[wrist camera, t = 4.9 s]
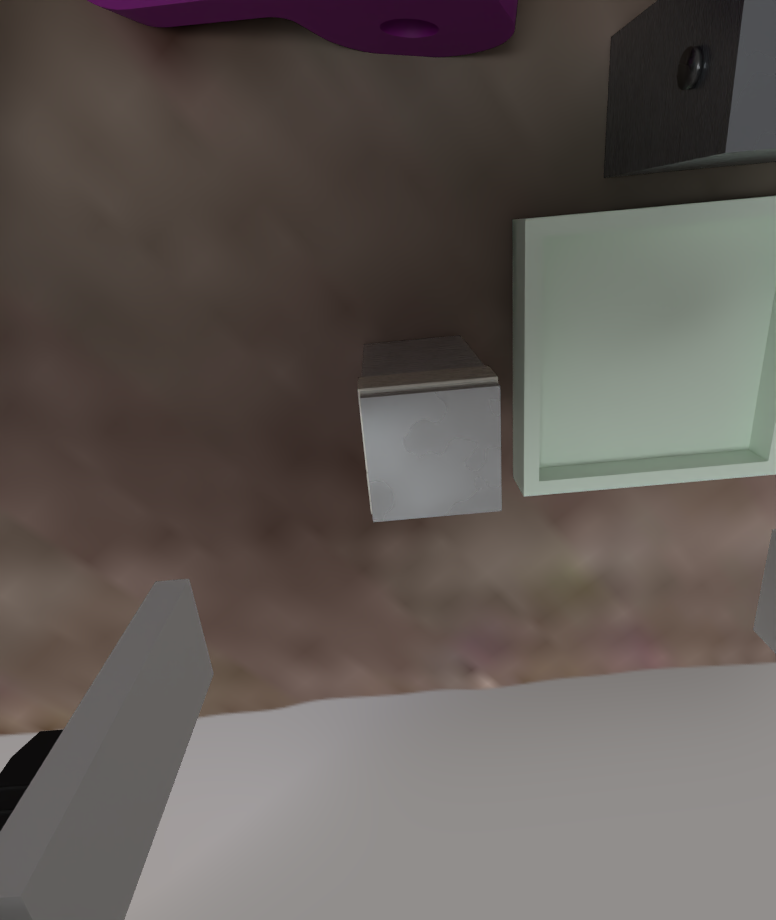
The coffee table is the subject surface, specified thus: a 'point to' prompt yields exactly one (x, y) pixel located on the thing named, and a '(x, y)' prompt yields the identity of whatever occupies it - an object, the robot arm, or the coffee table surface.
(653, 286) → the tray
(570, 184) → the coffee table surface
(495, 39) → the mounting bracket
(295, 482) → the coffee table surface
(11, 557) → the coffee table surface
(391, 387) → the module
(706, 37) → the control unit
